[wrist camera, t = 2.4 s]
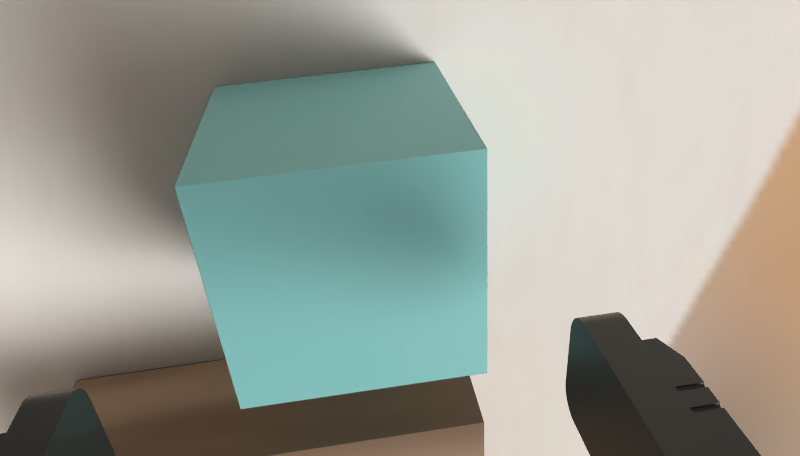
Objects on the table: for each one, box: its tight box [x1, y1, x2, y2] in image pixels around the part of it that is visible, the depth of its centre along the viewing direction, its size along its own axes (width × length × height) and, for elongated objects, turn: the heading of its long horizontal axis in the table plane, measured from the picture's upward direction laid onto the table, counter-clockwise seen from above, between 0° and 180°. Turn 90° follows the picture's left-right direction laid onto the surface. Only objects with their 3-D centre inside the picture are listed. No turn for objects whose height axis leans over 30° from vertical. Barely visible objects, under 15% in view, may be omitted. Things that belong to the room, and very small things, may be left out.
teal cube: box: [174, 62, 487, 409], centre depth 15 cm, size 6×6×6 cm
